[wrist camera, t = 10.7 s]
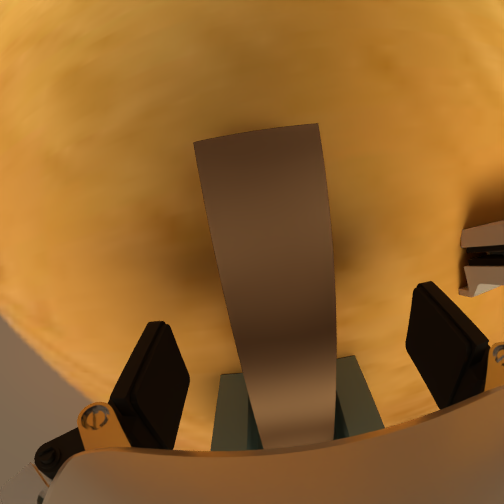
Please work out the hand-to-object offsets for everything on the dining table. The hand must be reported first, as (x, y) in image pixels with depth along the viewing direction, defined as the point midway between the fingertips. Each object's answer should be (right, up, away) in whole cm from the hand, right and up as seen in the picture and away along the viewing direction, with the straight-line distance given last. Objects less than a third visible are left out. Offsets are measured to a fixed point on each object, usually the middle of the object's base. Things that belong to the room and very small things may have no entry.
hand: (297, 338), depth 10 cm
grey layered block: (+21, +5, +5) cm, 22 cm away
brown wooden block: (0, +1, +7) cm, 7 cm away
